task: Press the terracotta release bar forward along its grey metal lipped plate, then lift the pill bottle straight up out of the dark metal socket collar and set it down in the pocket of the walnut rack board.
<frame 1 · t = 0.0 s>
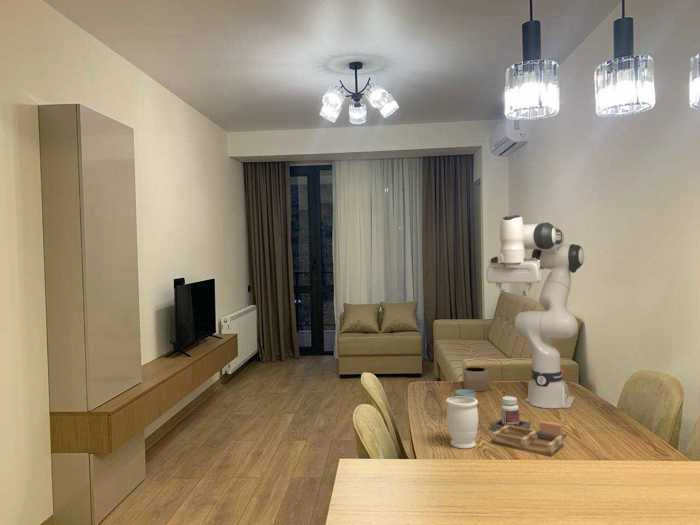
hand: (513, 295, 196), 48 cm above the table, fingers open, 8 cm apart
cup: (466, 419, 203), on the table
jar: (463, 445, 175), on the table
socket collar: (510, 429, 189), on the table
pill bottle: (510, 429, 189), resting in socket collar
grey metal lipped plate: (548, 437, 179), on the table
rack: (527, 444, 173), on the table
planter: (475, 389, 248), on the table
latch bar: (551, 428, 182), point 2 cm above the table, slide at 0.0 cm
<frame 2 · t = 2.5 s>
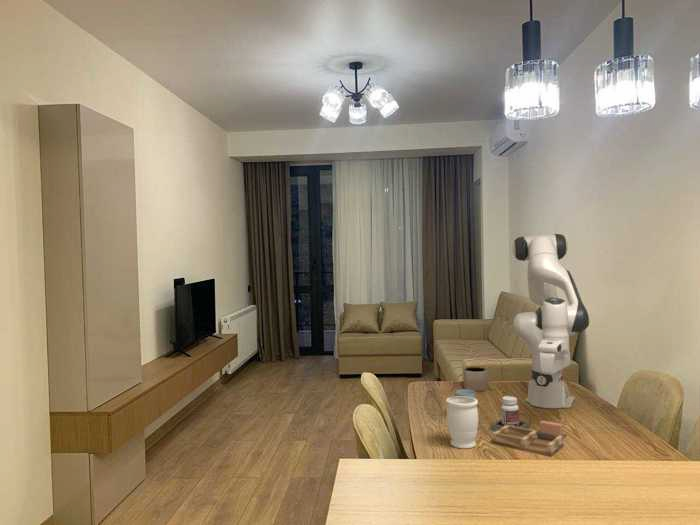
hand: (556, 382, 186), 17 cm above the table, fingers closed
nothing on the table moved.
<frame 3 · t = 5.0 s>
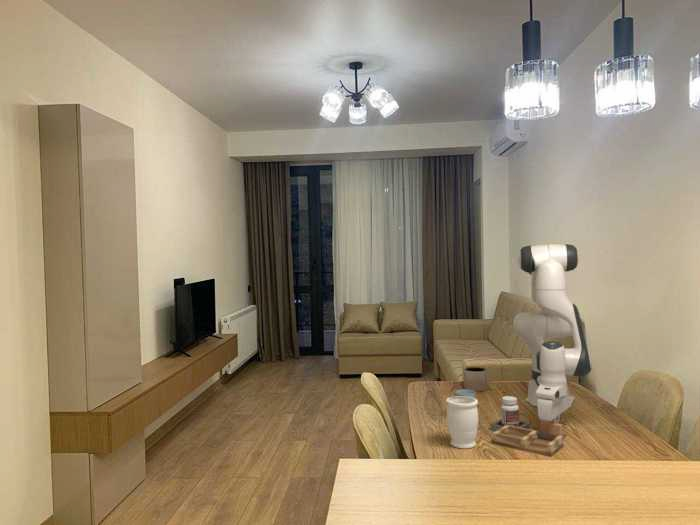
hand: (554, 427, 184), 2 cm above the table, fingers closed
latch bar: (551, 428, 182), point 2 cm above the table, slide at 0.1 cm, touching gripper
everything else where it was.
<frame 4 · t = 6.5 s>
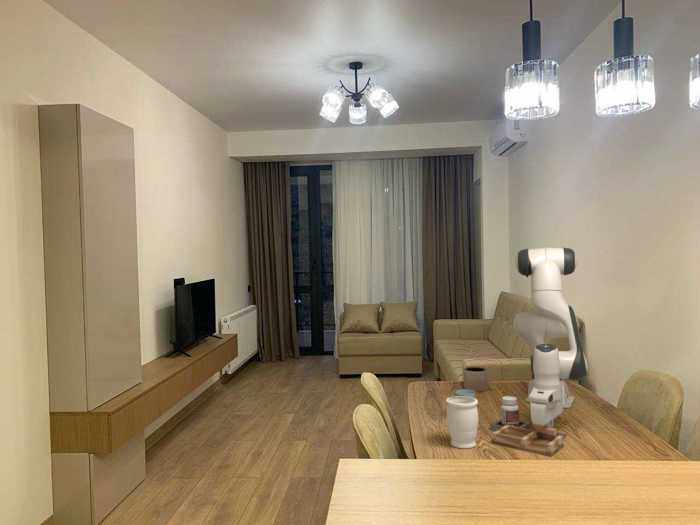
hand: (548, 432, 179), 2 cm above the table, fingers closed
latch bar: (544, 432, 177), point 2 cm above the table, slide at 6.1 cm, touching gripper
everything else where it was.
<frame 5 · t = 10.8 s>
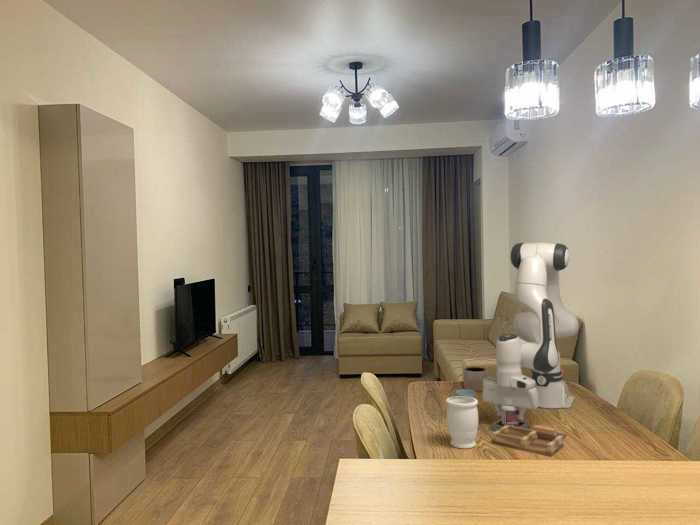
hand: (510, 417, 189), 4 cm above the table, fingers closed on pill bottle, 6 cm apart
pill bottle: (510, 429, 189), resting in socket collar, touching gripper
latch bar: (544, 432, 177), point 2 cm above the table, slide at 6.1 cm
everything else where it was.
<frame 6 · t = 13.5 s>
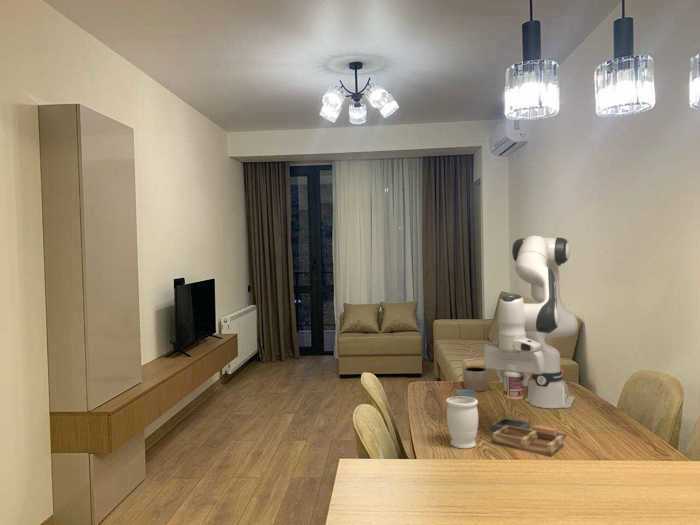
hand: (513, 384, 176), 20 cm above the table, fingers closed on pill bottle, 6 cm apart
pill bottle: (513, 397, 176), point 15 cm above the table, touching gripper
everything else where it was.
when the fingers open (6 cm above the table, at t = 16.4 s): pill bottle drops 1 cm, resting on rack.
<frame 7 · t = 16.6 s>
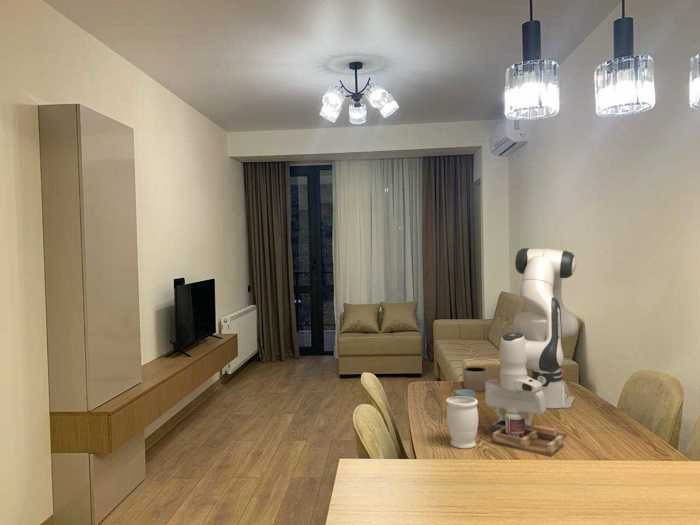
hand: (514, 422, 176), 7 cm above the table, fingers open, 8 cm apart
pill bottle: (515, 439, 176), point 1 cm above the table, touching rack
everything else where it was.
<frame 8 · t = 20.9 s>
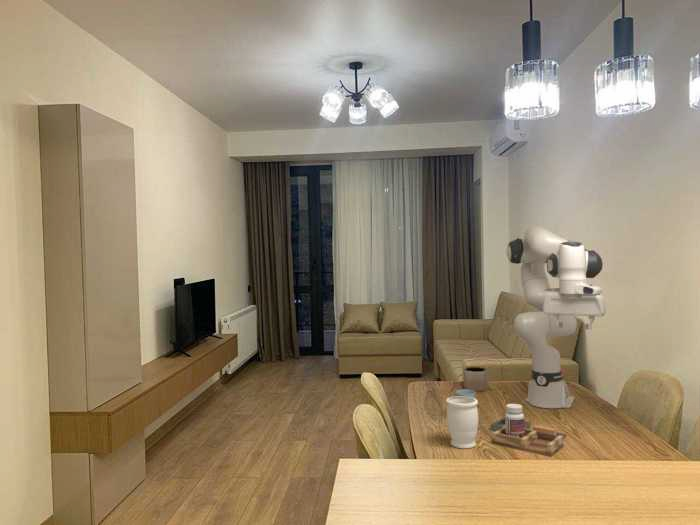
hand: (574, 328, 181), 37 cm above the table, fingers open, 8 cm apart
nothing on the table moved.
at the end: pill bottle 0.1 cm from the target spot on the rack, point 0.8 cm above the rack's base; pill bottle tilted 0°; latch bar slide at 6.1 cm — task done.
